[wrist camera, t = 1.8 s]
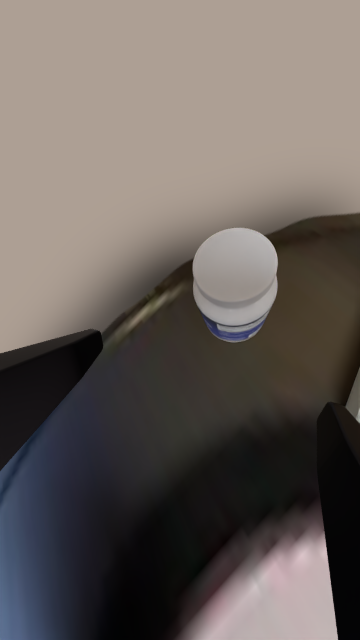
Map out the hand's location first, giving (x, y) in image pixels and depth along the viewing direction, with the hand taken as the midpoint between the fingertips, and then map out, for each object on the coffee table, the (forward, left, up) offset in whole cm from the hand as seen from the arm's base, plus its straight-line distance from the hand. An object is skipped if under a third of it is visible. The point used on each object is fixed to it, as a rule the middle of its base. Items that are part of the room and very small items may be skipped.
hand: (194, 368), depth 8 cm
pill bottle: (+6, +1, -12) cm, 14 cm away
